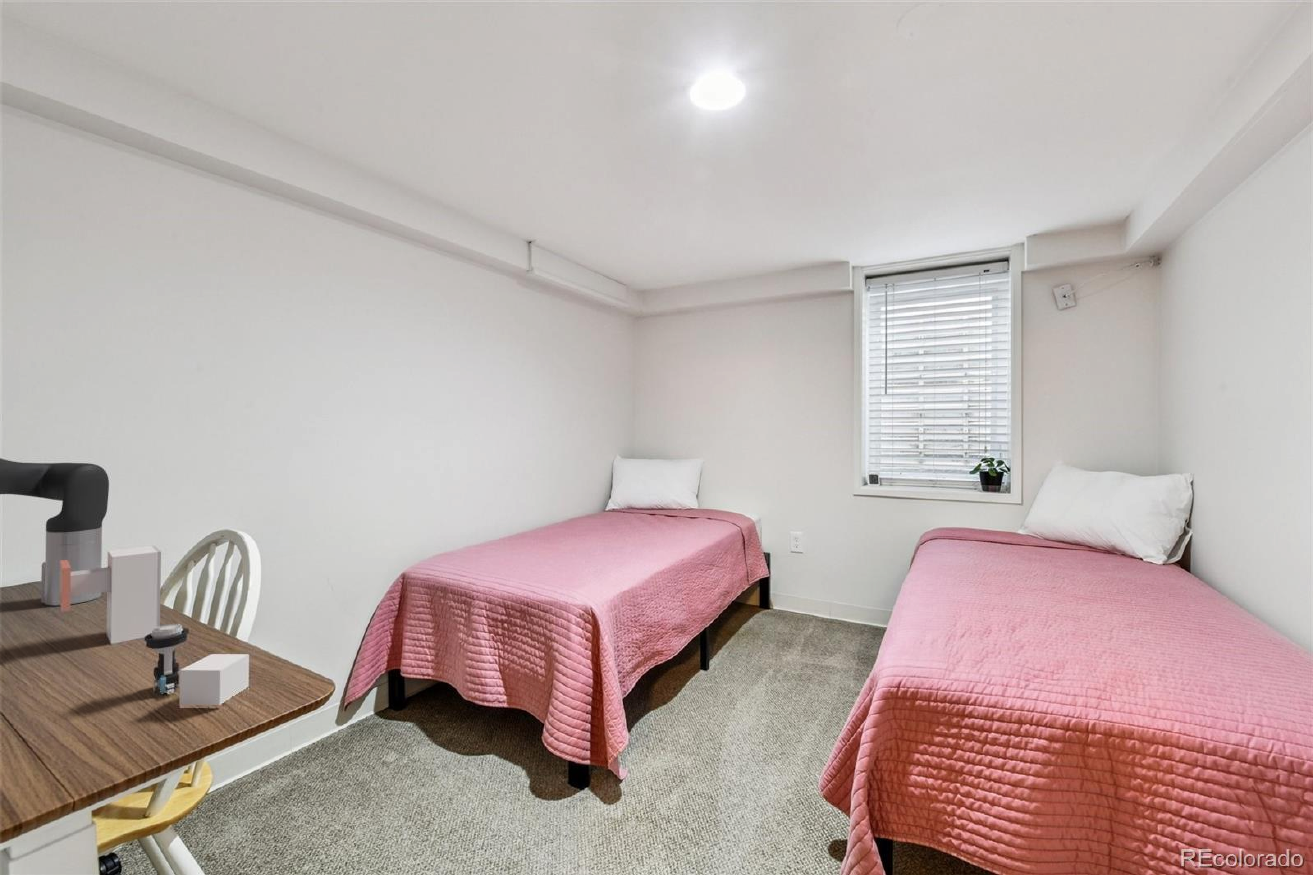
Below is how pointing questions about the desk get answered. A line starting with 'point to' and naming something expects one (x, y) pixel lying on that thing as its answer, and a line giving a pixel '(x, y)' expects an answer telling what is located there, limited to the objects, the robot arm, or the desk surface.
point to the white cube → (214, 679)
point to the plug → (81, 583)
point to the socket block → (133, 593)
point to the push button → (166, 654)
